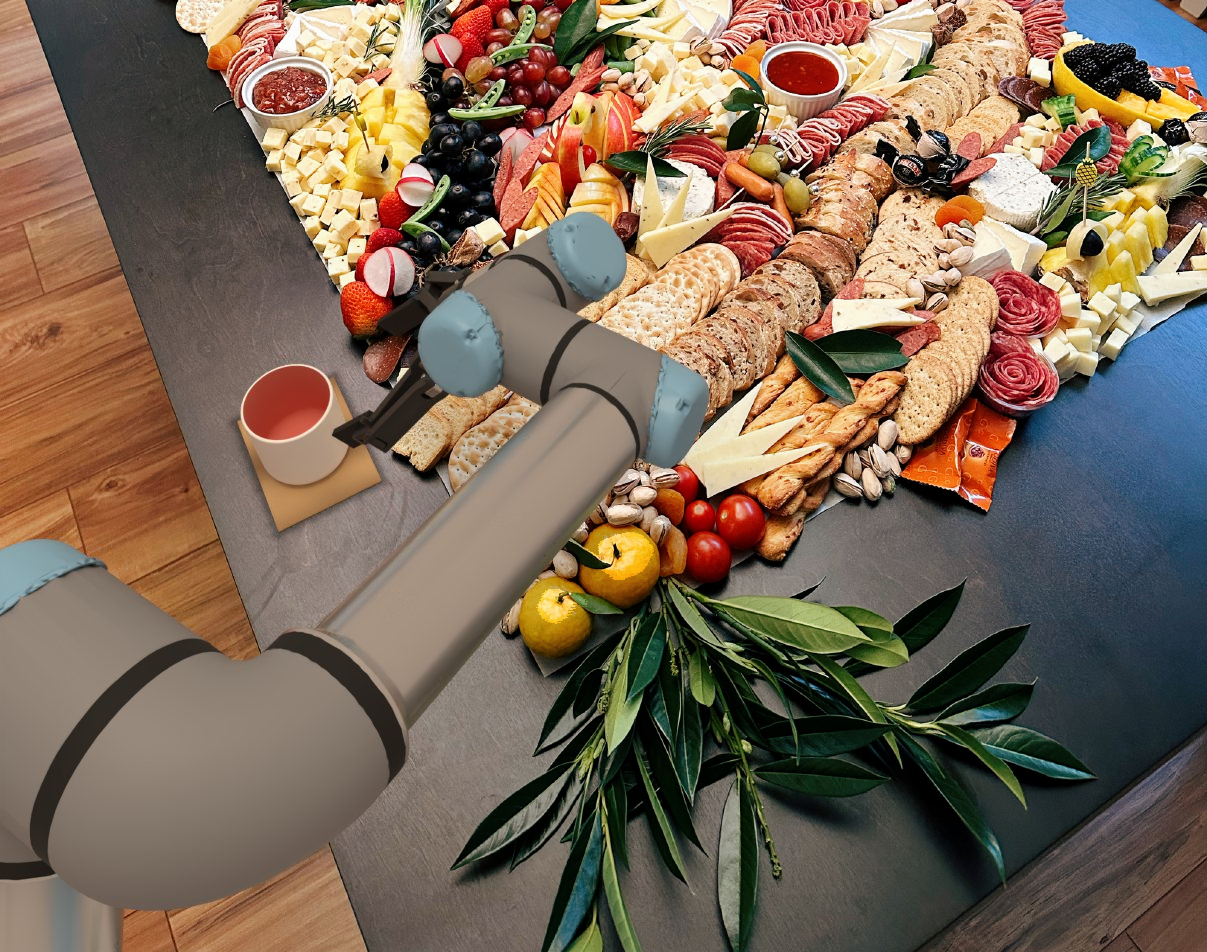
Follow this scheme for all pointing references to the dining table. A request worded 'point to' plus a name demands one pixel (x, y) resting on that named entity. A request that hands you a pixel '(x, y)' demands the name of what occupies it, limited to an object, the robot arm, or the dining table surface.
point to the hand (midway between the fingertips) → (366, 381)
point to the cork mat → (315, 497)
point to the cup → (294, 423)
